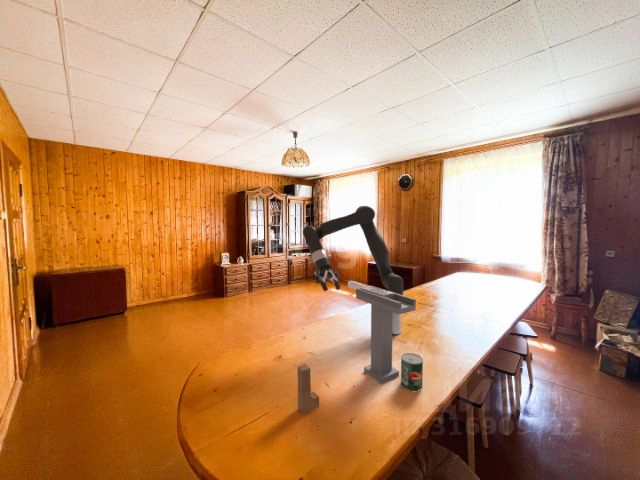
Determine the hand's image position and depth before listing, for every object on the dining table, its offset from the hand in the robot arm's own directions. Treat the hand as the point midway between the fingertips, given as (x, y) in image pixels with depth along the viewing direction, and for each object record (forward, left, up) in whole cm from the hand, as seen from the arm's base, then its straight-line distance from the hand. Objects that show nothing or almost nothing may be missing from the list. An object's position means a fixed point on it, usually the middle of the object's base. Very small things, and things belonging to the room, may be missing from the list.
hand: (332, 289), depth 126 cm
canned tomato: (+19, +34, -31) cm, 50 cm away
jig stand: (+14, +23, -31) cm, 41 cm away
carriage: (+8, +17, +2) cm, 19 cm away
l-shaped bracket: (+40, -1, -31) cm, 50 cm away
